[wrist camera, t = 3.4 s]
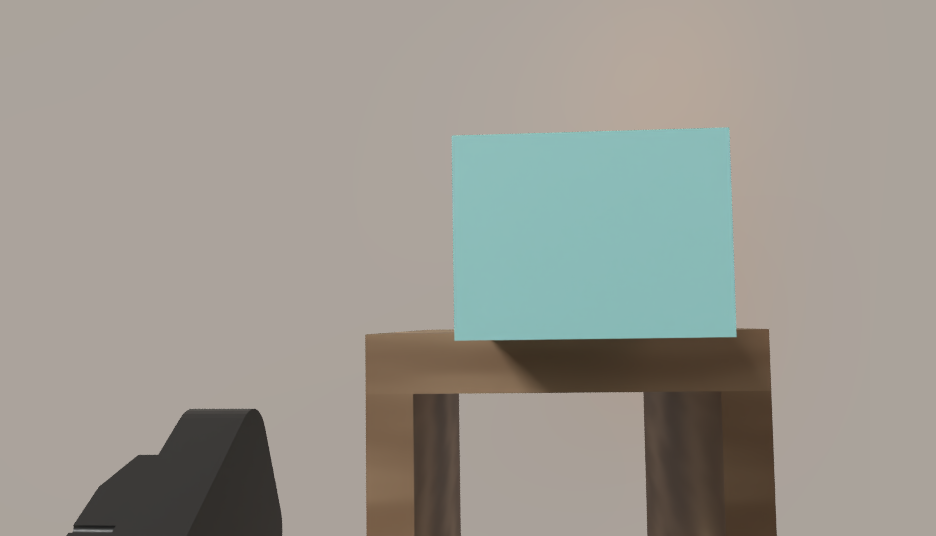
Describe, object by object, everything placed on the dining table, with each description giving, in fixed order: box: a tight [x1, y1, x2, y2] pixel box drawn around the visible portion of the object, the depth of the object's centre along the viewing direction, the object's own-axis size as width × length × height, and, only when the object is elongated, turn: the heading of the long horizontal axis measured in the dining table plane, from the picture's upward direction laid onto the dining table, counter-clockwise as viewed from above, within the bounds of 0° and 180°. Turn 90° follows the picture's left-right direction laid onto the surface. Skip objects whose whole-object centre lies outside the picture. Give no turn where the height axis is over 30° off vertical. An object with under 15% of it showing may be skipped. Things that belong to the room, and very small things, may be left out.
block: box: [452, 128, 737, 341], centre depth 23 cm, size 22×4×3 cm, turn 176°
